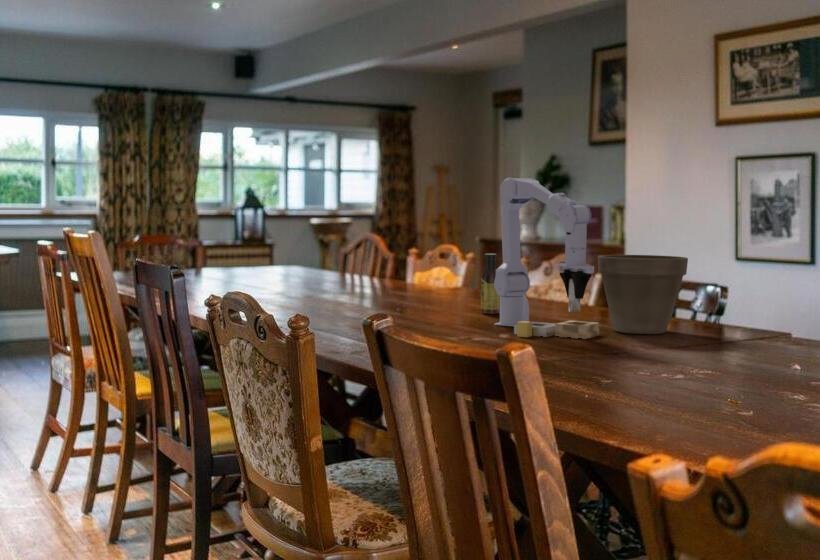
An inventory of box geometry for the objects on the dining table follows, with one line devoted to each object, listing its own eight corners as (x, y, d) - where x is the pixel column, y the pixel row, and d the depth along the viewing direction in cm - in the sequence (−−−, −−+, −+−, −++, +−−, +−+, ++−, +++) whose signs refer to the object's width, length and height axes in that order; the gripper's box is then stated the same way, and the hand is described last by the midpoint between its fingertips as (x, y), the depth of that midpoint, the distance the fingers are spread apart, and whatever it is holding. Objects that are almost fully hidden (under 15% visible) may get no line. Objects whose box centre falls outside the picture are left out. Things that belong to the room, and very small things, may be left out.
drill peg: (572, 310, 265) (572, 278, 264) (582, 311, 263) (582, 278, 262) (566, 311, 262) (566, 278, 262) (576, 312, 260) (576, 279, 260)
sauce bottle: (483, 312, 319) (483, 253, 318) (501, 312, 317) (502, 253, 316) (478, 314, 313) (479, 254, 311) (497, 315, 311) (497, 254, 310)
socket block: (530, 330, 275) (530, 321, 274) (562, 332, 269) (562, 324, 269) (514, 334, 266) (514, 325, 266) (546, 337, 261) (546, 328, 260)
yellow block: (522, 335, 264) (522, 320, 264) (532, 336, 263) (532, 321, 262) (517, 336, 262) (517, 322, 261) (526, 337, 260) (527, 322, 260)
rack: (569, 332, 269) (569, 320, 269) (599, 335, 264) (599, 322, 264) (555, 336, 262) (555, 323, 262) (585, 339, 257) (585, 326, 256)
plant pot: (653, 324, 288) (654, 252, 286) (704, 334, 265) (706, 257, 263) (580, 327, 280) (581, 254, 278) (627, 339, 257) (628, 259, 255)
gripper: (548, 247, 266) (548, 296, 267) (579, 250, 253) (578, 301, 254) (569, 247, 269) (569, 295, 270) (600, 249, 256) (600, 299, 257)
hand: (575, 298), depth 262 cm, fingers closed on drill peg, 3 cm apart
